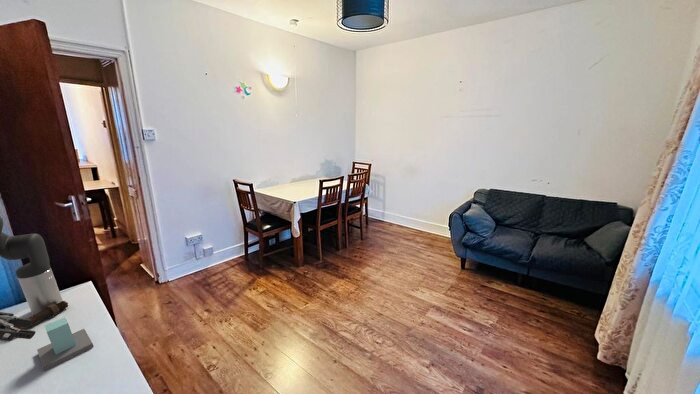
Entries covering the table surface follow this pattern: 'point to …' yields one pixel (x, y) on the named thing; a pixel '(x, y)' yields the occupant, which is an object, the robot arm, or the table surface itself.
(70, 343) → the block
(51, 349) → the base plate
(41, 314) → the bolt
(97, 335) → the table surface
